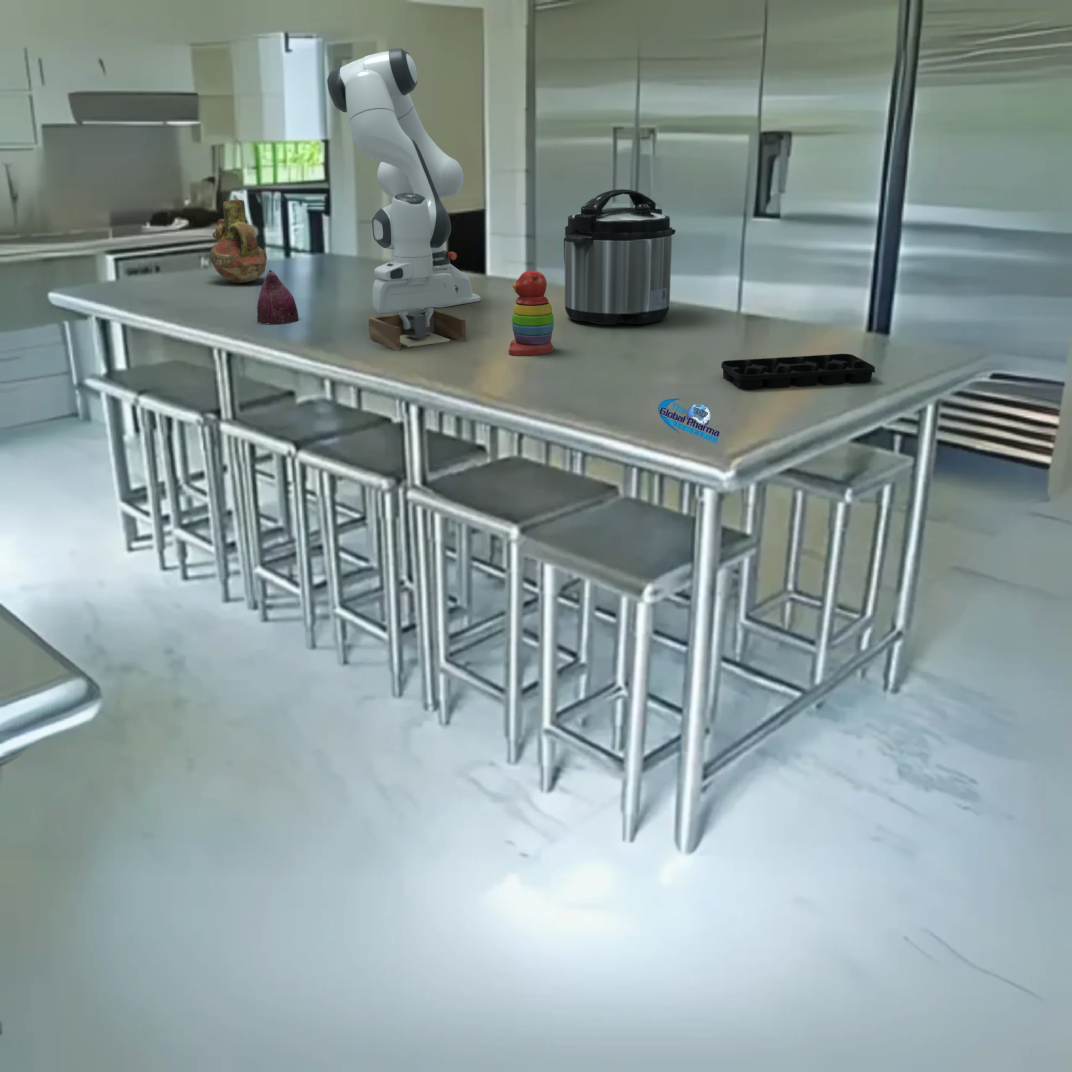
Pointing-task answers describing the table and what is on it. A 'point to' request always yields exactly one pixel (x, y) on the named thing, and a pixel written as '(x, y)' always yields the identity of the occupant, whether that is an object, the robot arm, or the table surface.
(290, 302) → the vegetable
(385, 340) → the bay
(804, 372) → the black plastic tray
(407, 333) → the bracket
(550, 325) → the stacking bear
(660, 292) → the pressure cooker
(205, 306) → the table surface
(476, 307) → the table surface
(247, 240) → the ceramic vessel
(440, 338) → the pad
